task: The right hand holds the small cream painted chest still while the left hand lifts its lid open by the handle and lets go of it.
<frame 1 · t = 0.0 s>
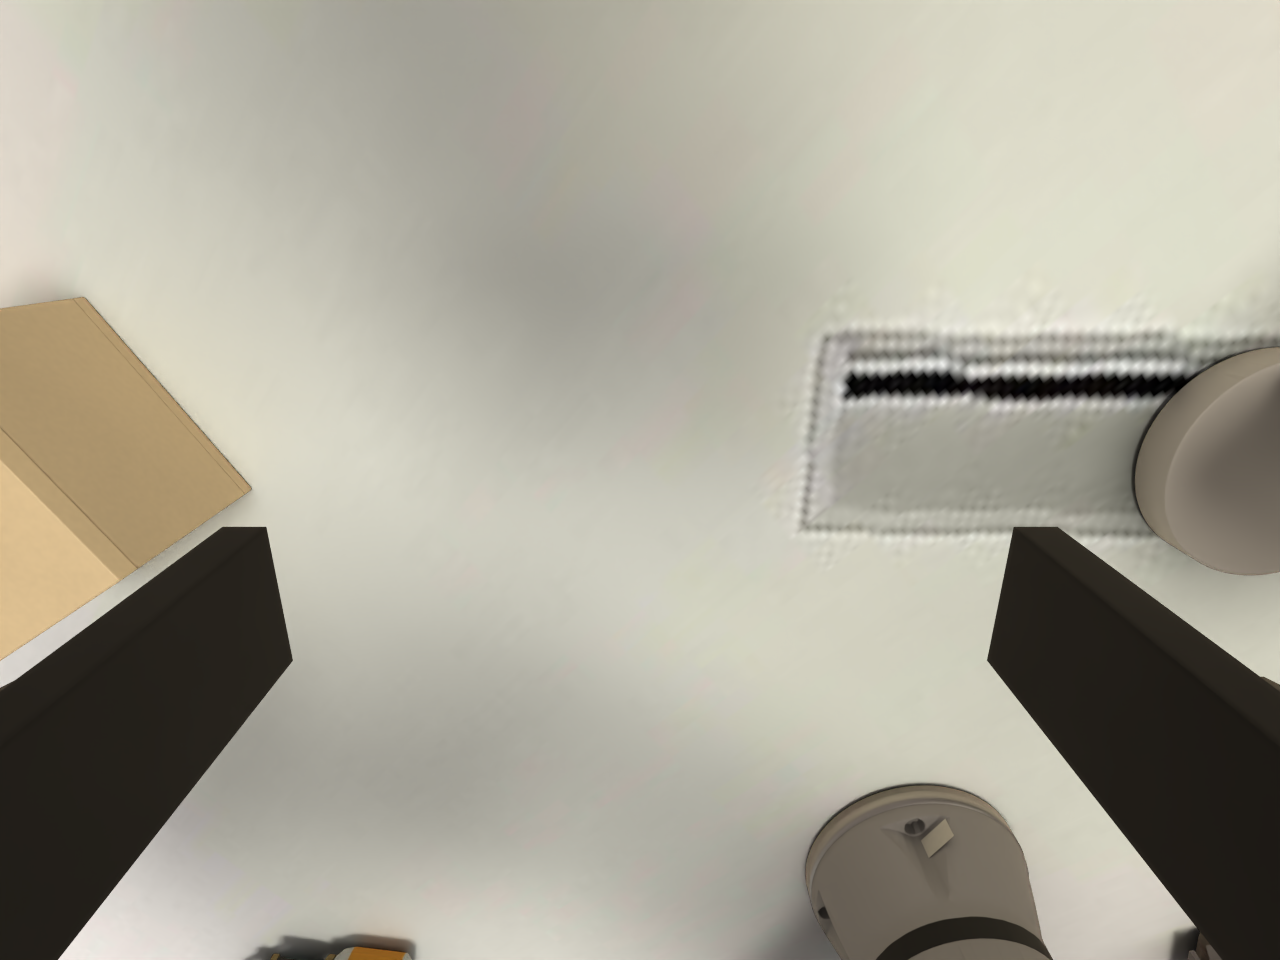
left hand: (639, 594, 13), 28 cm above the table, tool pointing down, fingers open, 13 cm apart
chest: (109, 442, 41), on the table
bust sculpture: (1255, 391, 40), on the table
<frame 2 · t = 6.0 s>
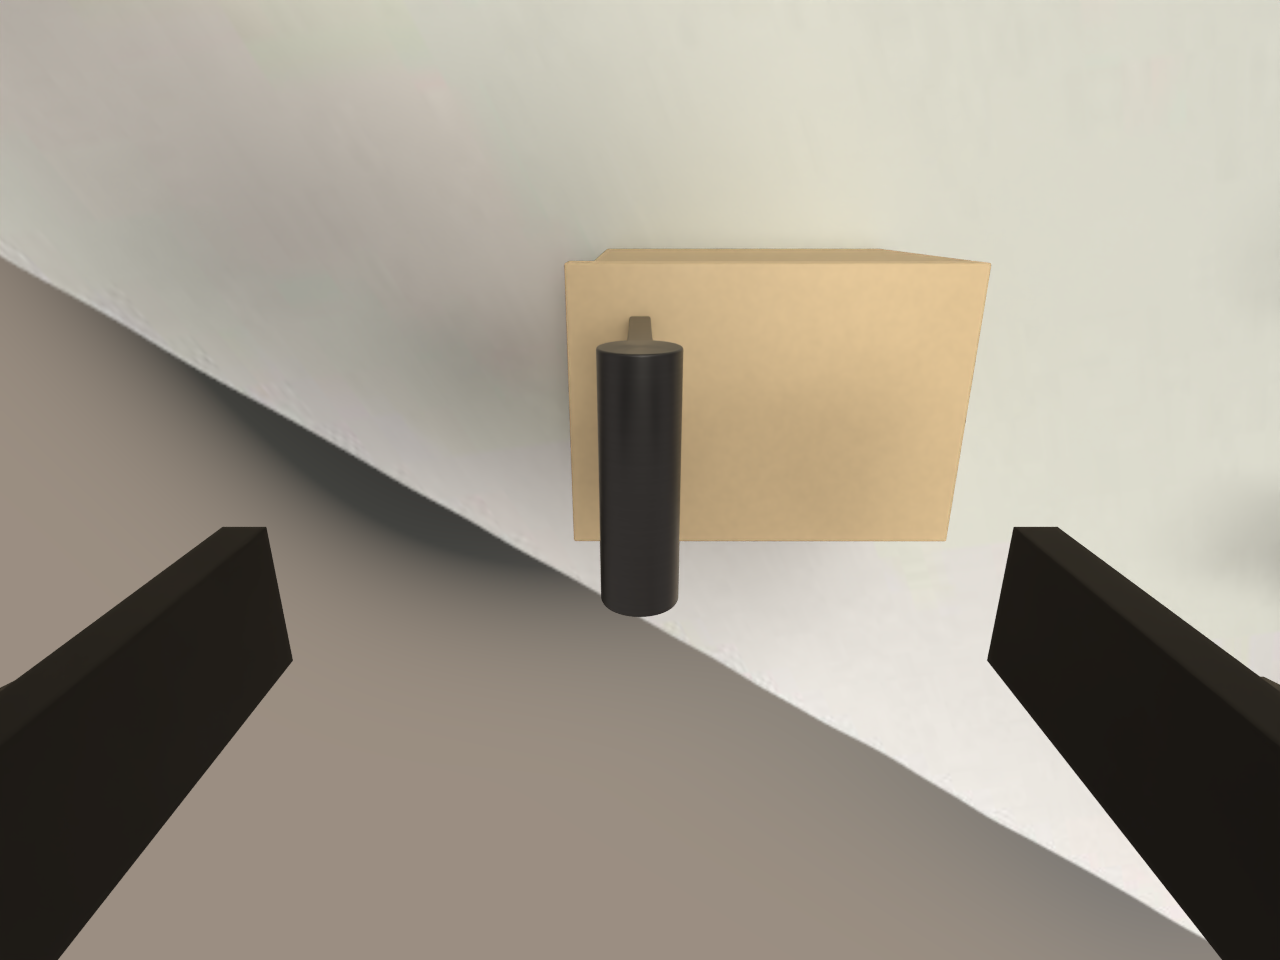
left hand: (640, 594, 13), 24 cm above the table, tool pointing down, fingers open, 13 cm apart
chest: (738, 353, 36), on the table
lid: (787, 440, 22), point 15 cm above the table, hinge at 0.0°
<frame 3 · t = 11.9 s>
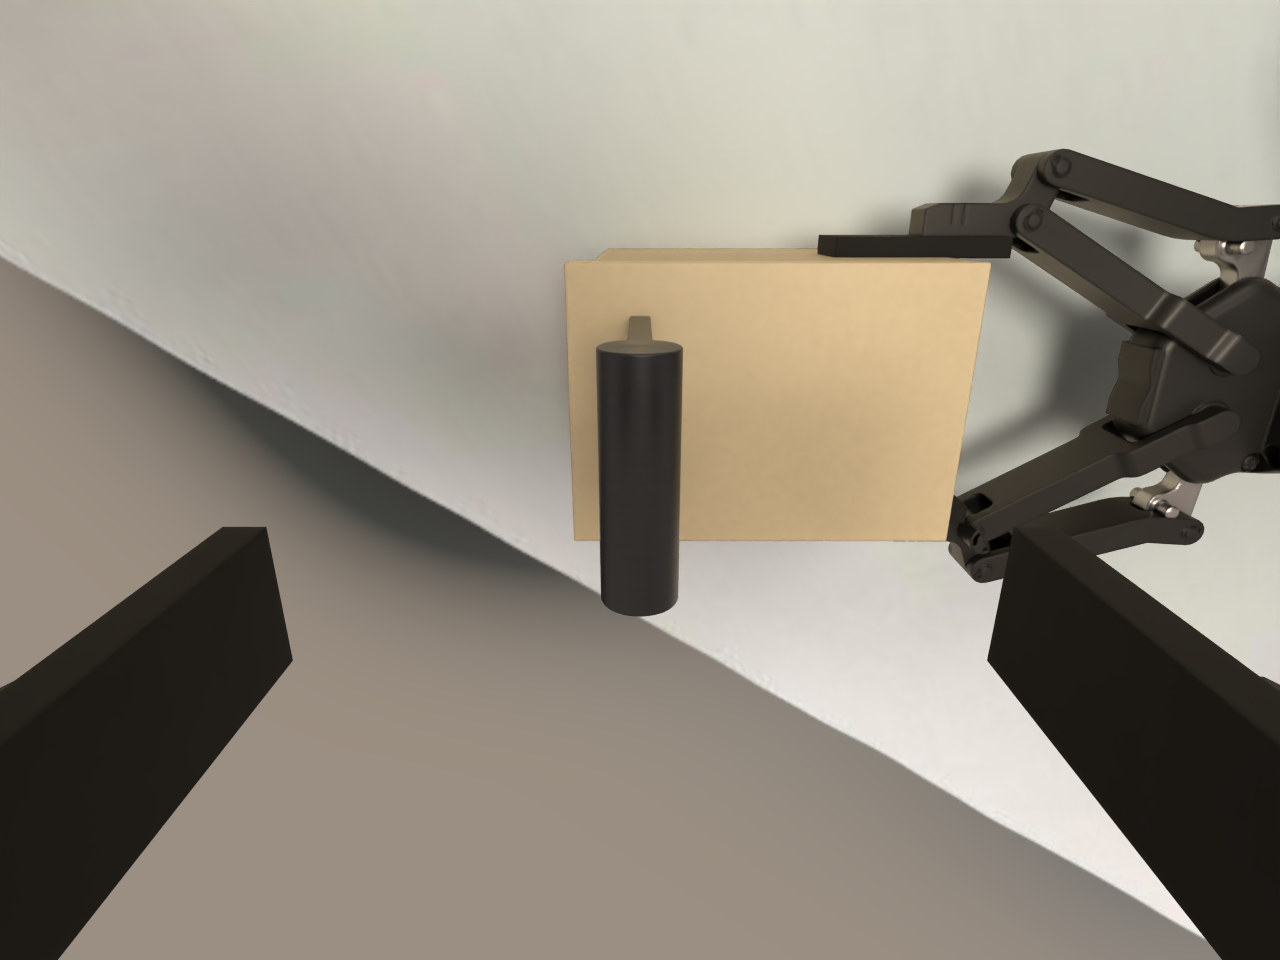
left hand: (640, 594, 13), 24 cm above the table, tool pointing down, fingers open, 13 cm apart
right hand: (814, 382, 29), fingers closed on chest, 10 cm apart
chest: (738, 353, 36), on the table, touching right hand
lid: (787, 440, 22), point 15 cm above the table, hinge at 0.0°
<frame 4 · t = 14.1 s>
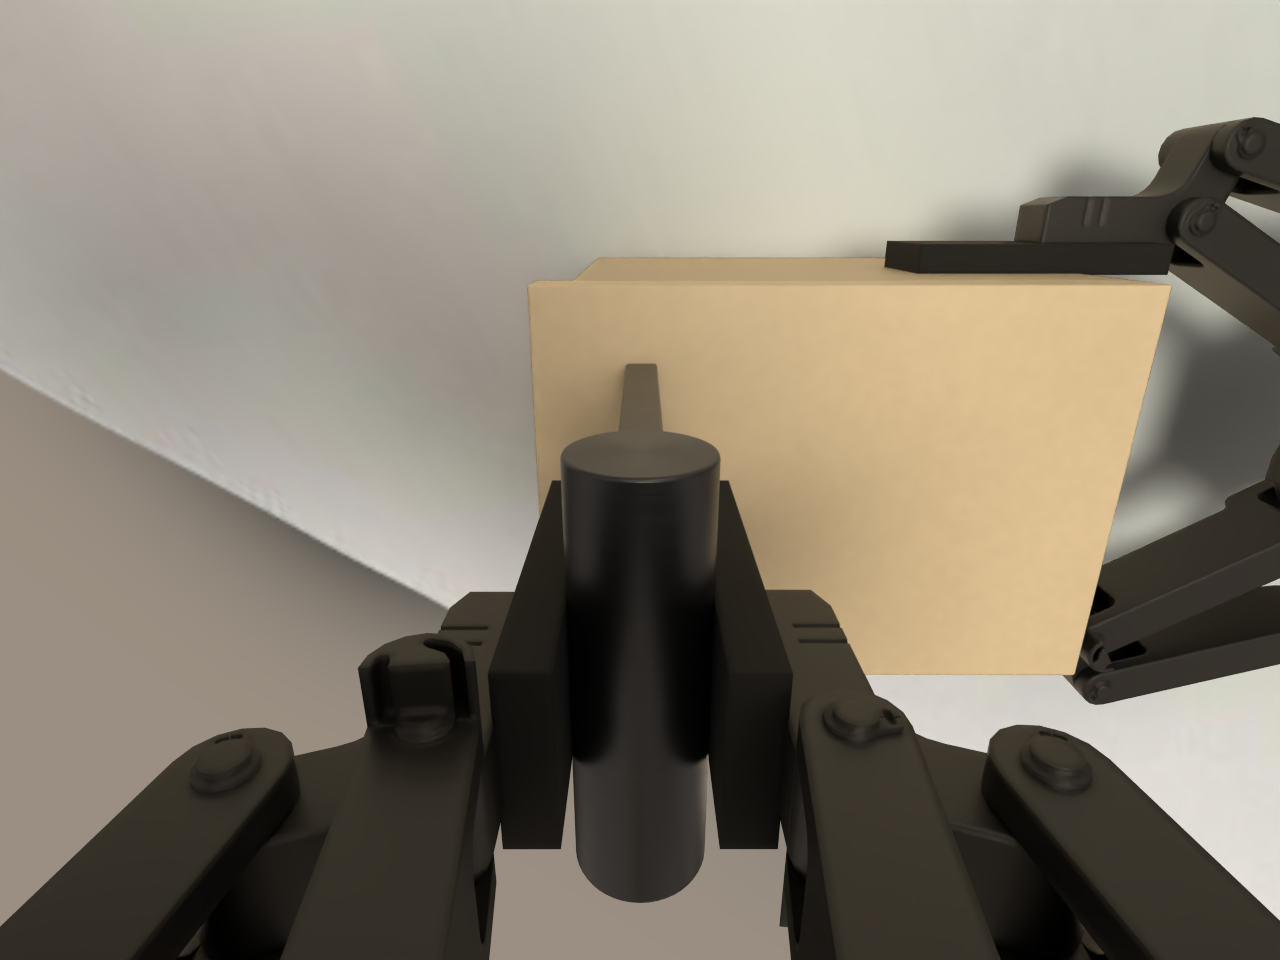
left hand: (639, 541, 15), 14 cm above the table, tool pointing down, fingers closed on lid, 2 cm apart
right hand: (878, 442, 21), fingers closed on chest, 10 cm apart
chest: (767, 391, 28), on the table, touching right hand
lid: (870, 564, 14), point 15 cm above the table, hinge at -0.1°, touching left hand
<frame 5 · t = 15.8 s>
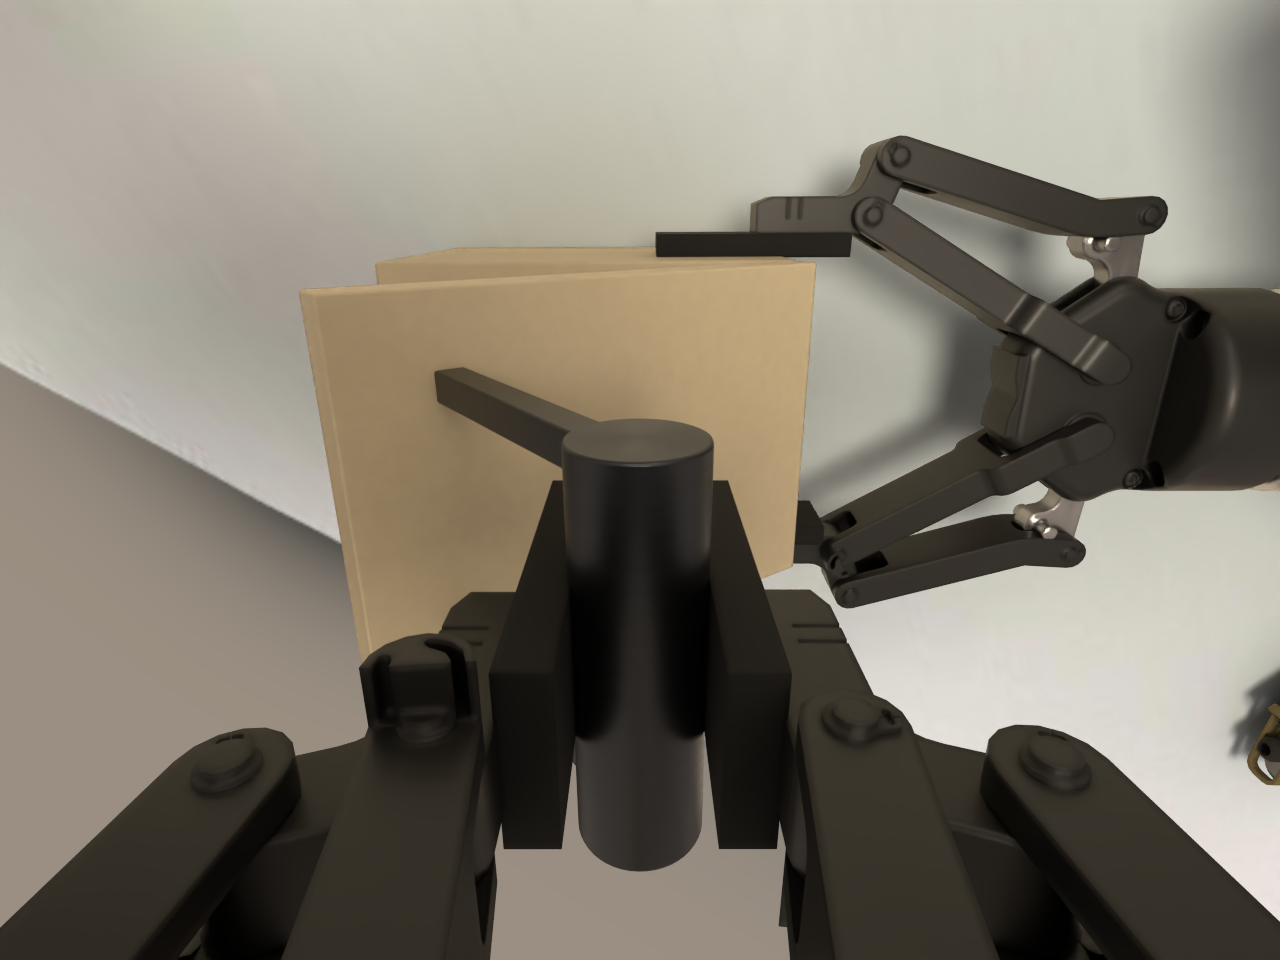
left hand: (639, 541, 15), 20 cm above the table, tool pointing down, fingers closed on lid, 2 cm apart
right hand: (655, 393, 27), fingers closed on chest, 10 cm apart
chest: (605, 359, 33), on the table, touching right hand
lid: (708, 511, 16), point 18 cm above the table, hinge at 36.2°, touching left hand
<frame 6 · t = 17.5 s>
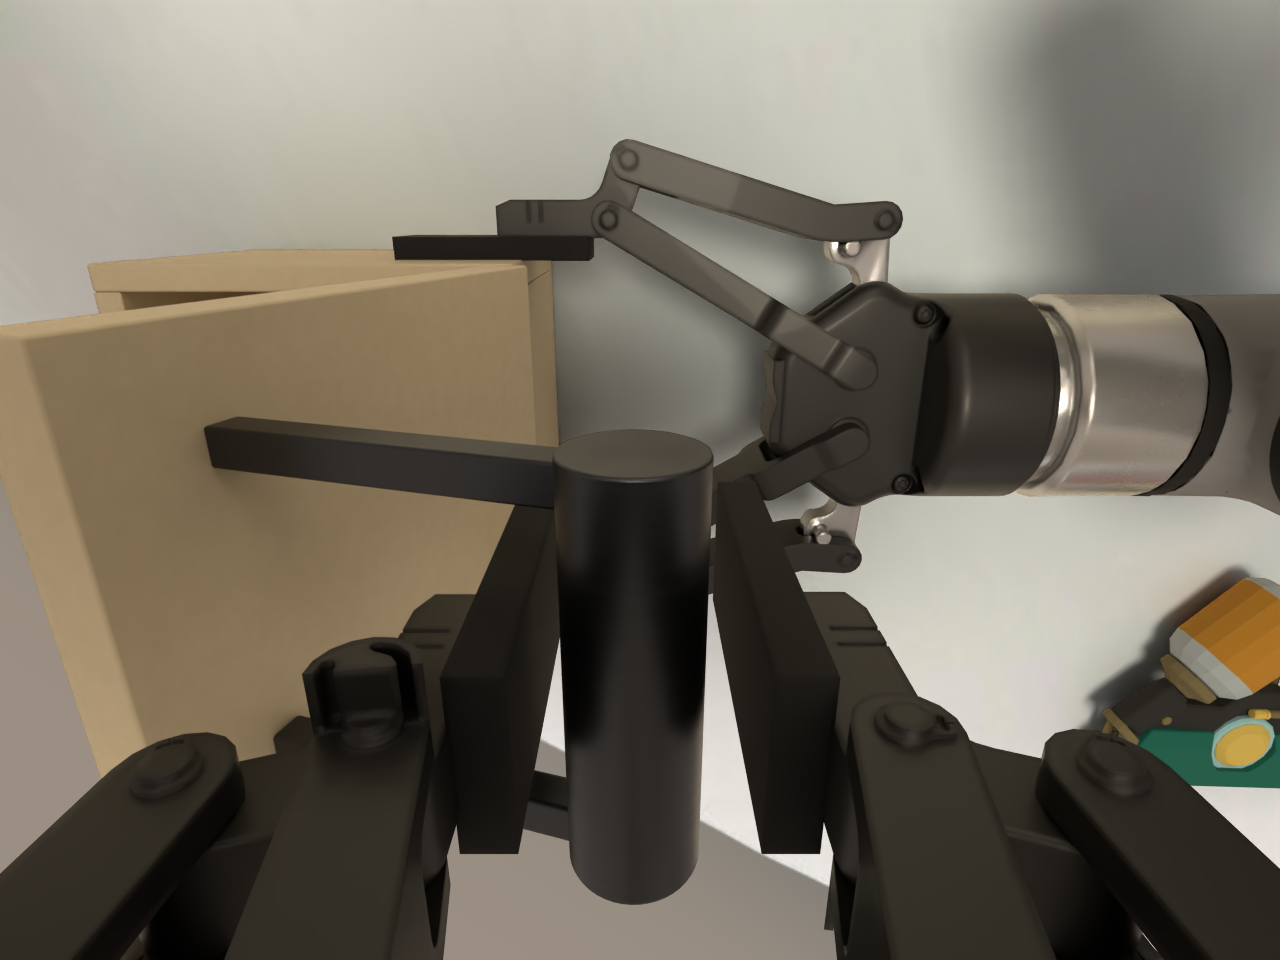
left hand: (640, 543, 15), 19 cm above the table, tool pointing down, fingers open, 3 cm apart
right hand: (422, 396, 27), fingers closed on chest, 10 cm apart
spray gun: (1248, 687, 39), on the table
chest: (414, 362, 33), on the table, touching right hand
lid: (542, 525, 16), point 19 cm above the table, hinge at 72.8°
when the right hand's fingers open (7 cm above the table, at t = 21.5 s): chest stays where it is, on the table.
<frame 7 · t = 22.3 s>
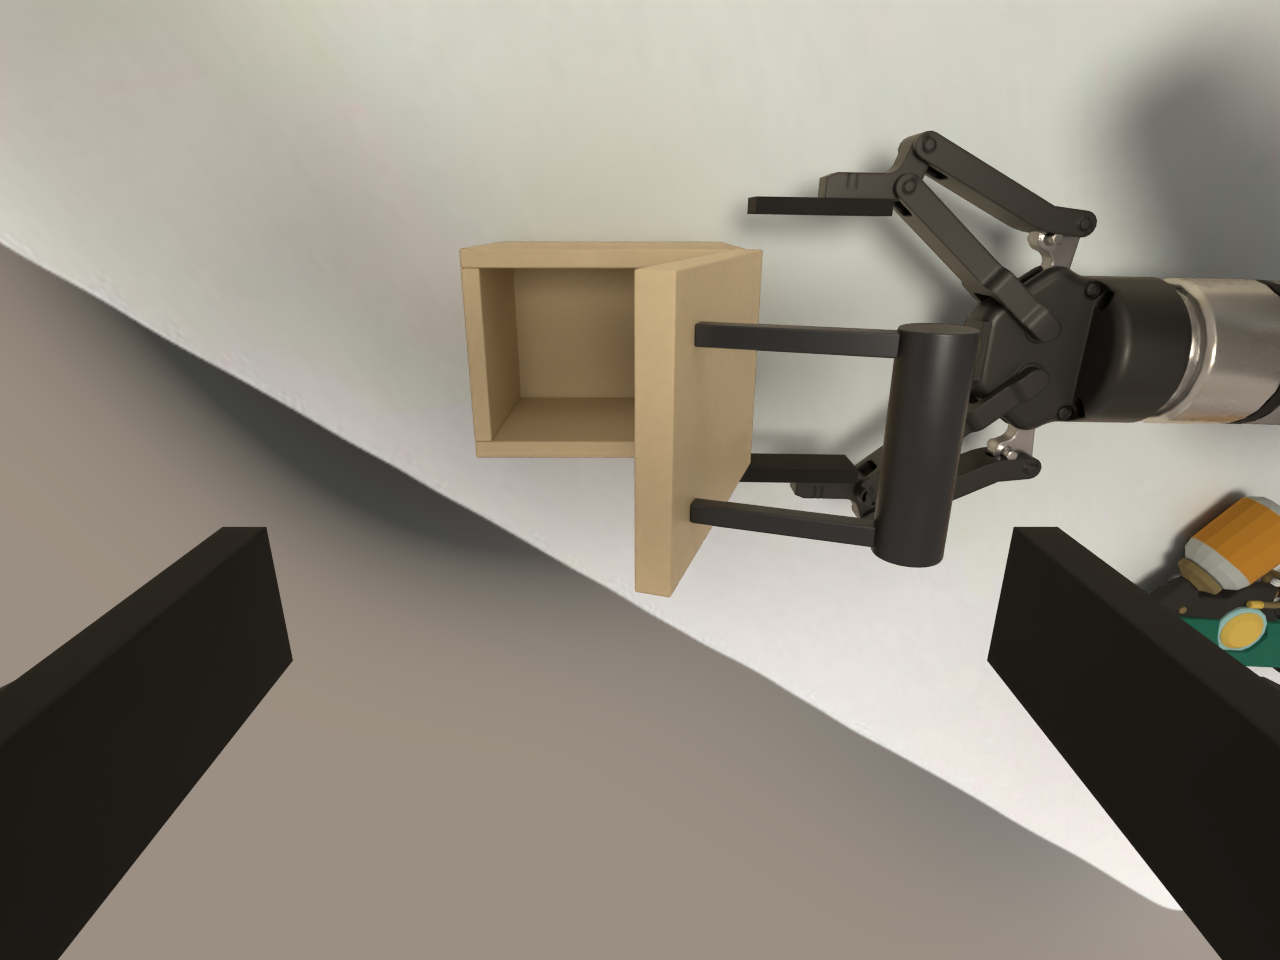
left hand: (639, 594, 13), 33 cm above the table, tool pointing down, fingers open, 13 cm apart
right hand: (741, 344, 37), fingers open, 13 cm apart
spray gun: (1246, 588, 50), on the table
chest: (612, 327, 43), on the table
lid: (814, 402, 26), point 19 cm above the table, hinge at 71.2°
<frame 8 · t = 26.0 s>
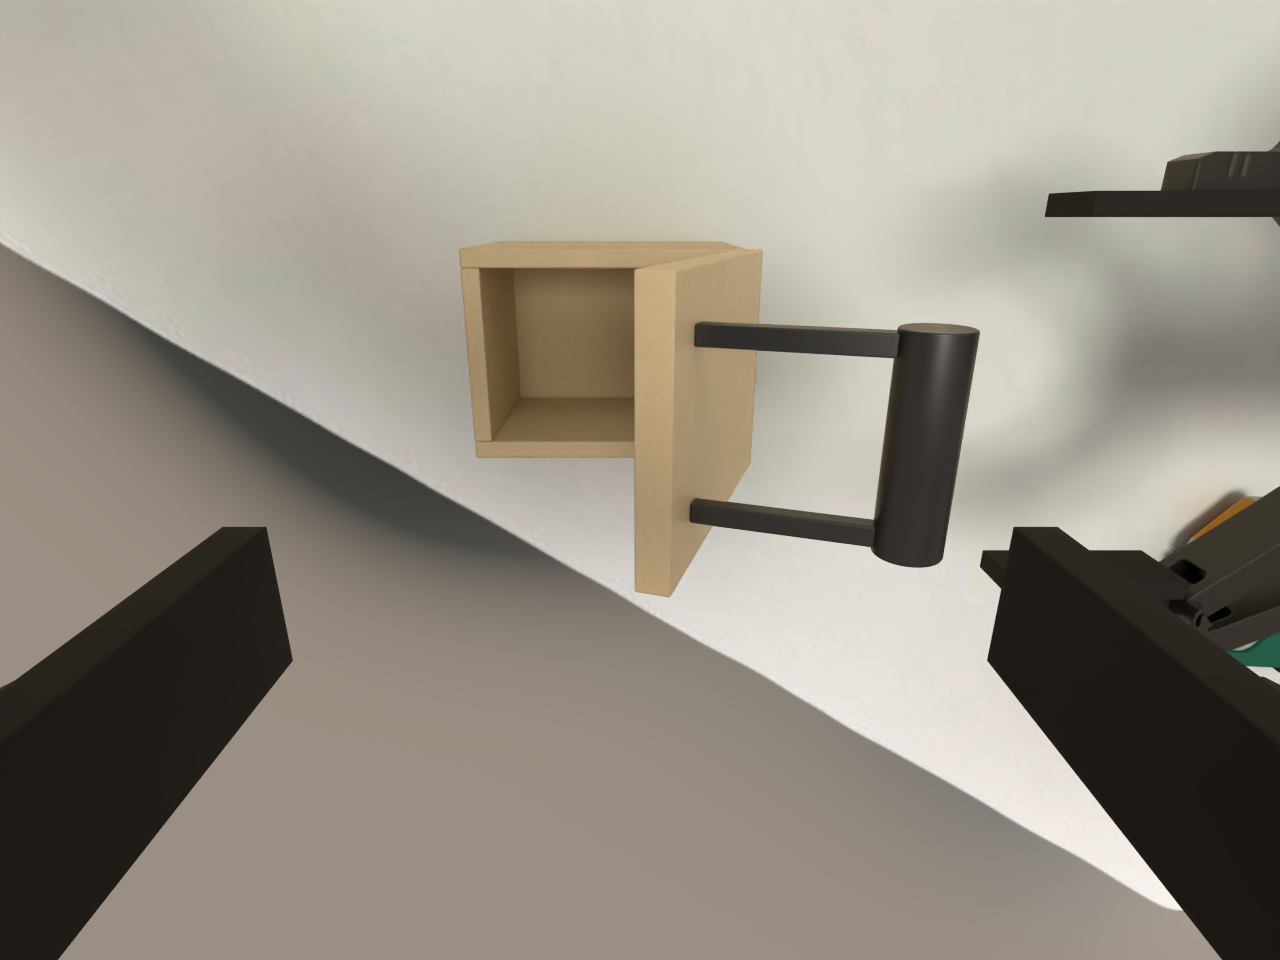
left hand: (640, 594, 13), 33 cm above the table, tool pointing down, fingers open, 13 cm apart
spray gun: (1246, 588, 50), on the table
chest: (612, 327, 43), on the table
lid: (814, 402, 26), point 19 cm above the table, hinge at 71.2°
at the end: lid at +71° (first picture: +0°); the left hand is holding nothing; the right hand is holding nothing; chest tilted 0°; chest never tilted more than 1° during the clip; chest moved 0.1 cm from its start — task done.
